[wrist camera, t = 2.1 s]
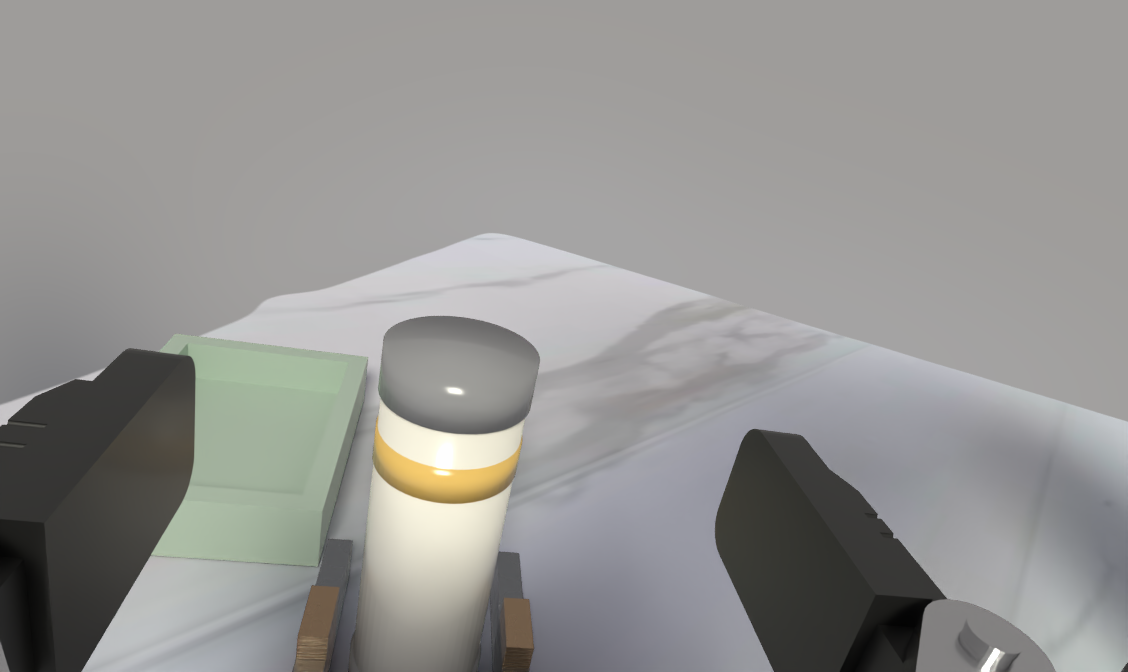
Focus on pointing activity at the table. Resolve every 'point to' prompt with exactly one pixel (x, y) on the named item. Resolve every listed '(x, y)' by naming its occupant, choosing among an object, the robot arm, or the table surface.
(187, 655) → the table surface
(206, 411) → the tray
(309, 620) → the clip rails
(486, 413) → the cylinder
